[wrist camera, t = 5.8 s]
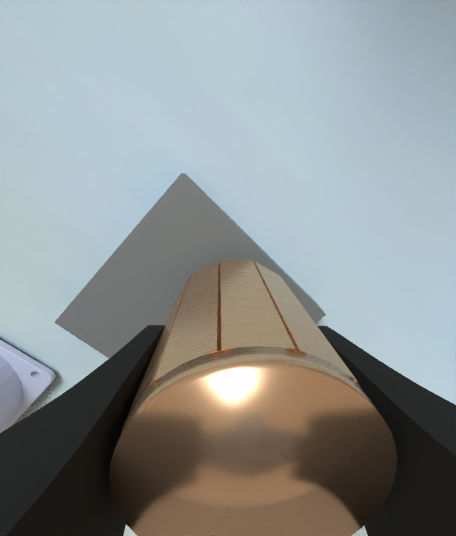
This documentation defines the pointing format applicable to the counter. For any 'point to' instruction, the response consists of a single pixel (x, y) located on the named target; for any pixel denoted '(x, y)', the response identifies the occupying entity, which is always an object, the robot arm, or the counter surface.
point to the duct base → (162, 268)
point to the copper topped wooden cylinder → (248, 421)
